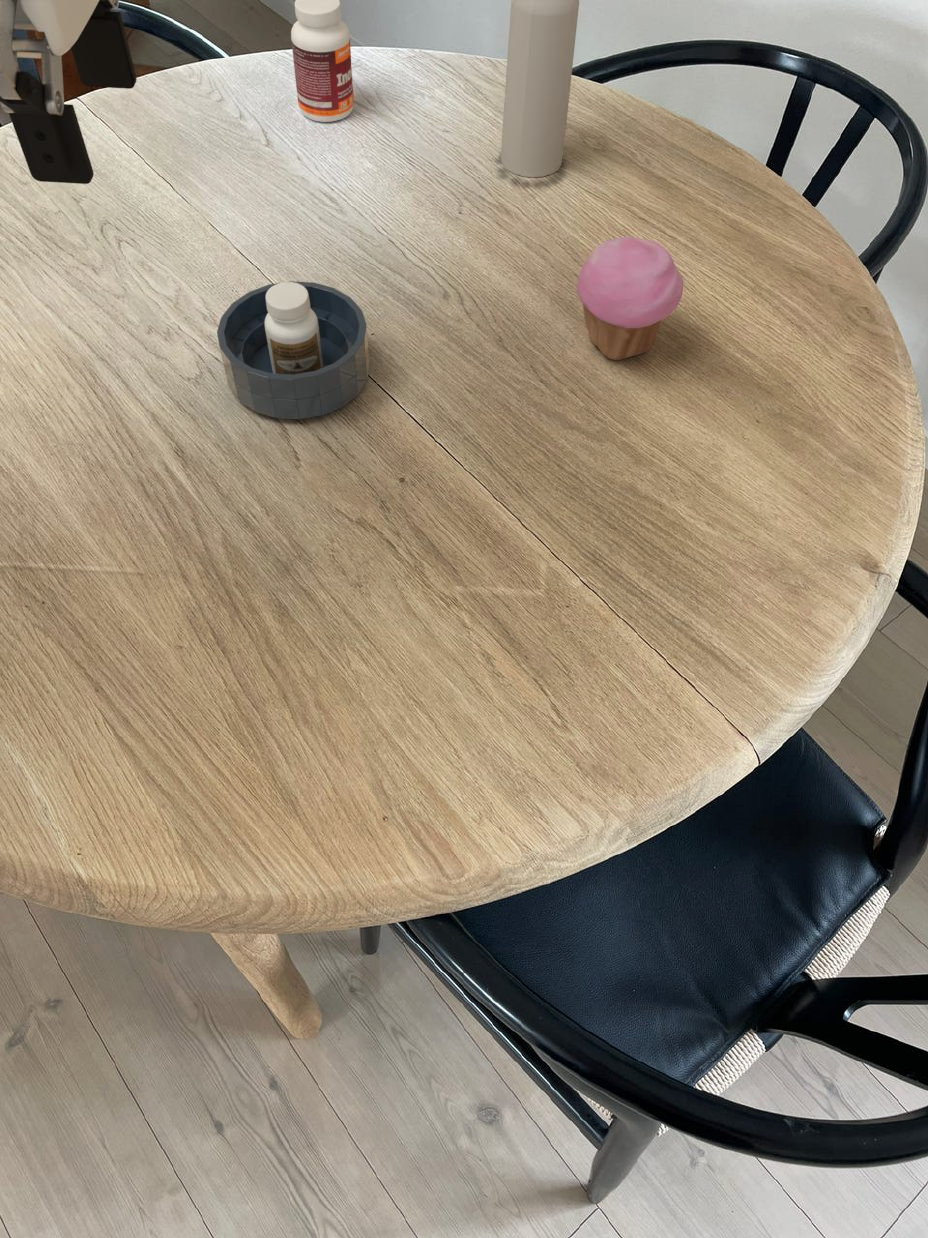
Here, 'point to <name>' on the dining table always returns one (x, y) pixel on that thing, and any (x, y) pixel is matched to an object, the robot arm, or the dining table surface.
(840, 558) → the dining table surface
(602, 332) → the cupcake
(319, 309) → the bowl
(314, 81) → the pill bottle
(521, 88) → the bottle
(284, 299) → the pill bottle
